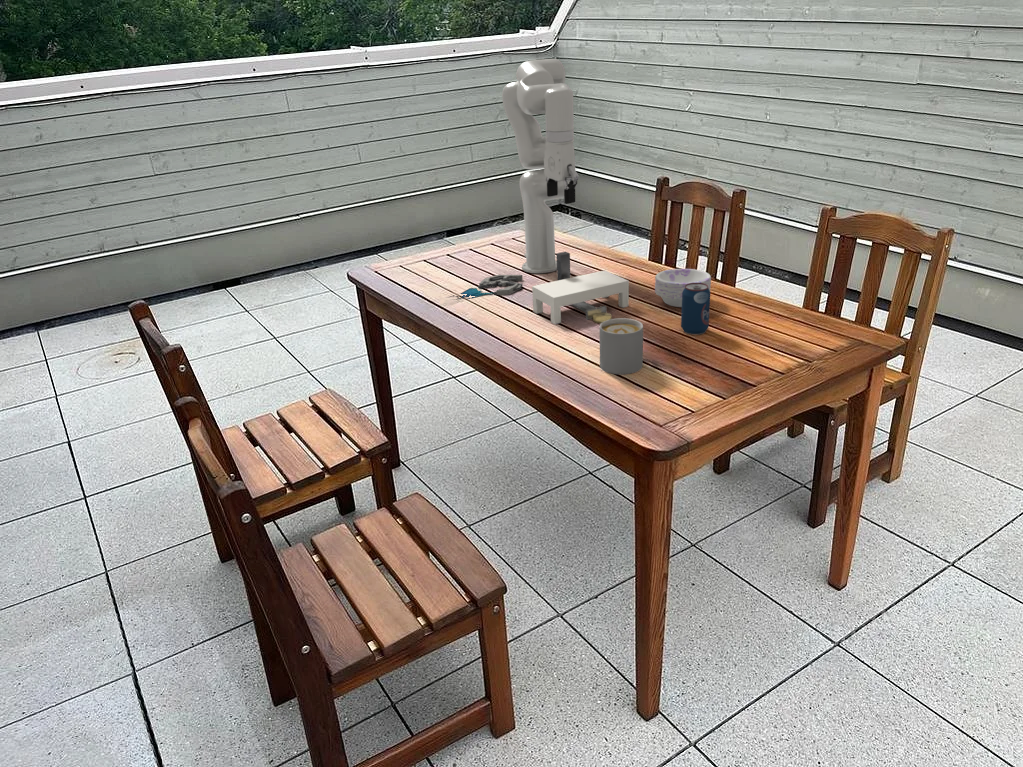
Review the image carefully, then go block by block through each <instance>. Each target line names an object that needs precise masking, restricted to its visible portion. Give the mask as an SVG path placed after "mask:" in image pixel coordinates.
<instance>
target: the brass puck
mask: <svg viewBox="0 0 1023 767" xmlns="http://www.w3.org/2000/svg"><path fill="white" fill-rule="evenodd" d="M612 316H613V315H612V314H611V313H609V312H607V313H605V312H600V313H596V314H594V315H593V319H592V322H593V323H596V324H599V325H600V324H601V323H602V322H604V321H607V320H610V319H613V318H612Z"/></svg>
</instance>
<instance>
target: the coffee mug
mask: <svg viewBox="0 0 1023 767" xmlns="http://www.w3.org/2000/svg"><path fill="white" fill-rule="evenodd" d="M643 352H644V325H643V323H642V322H641V321H639V320H636V319H633V318H625V317H621V318H620V317H619V318H612V319H610V320H607V321H604V322H602V323H601V324H599V368H600V370H602V371H604V372H605V373H608V374H612V375H630V374H633V373H637V372H639V371H640V370H642V368H643V359H644V356H643V355H644V354H643Z"/></svg>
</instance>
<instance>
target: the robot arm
mask: <svg viewBox="0 0 1023 767" xmlns="http://www.w3.org/2000/svg"><path fill="white" fill-rule="evenodd" d="M515 75H516V80H517V81H513V82H509V83H508V84H506V85H505V86H504V87H503V89H502V93H501V94H502V96H501V98H502V106H503V109H504V112H505V115H506V118H507V119H508V121H509V123H510V125H511V127H512V130H513V132H514V133H513V134H514V137H515V143H516V149H517V155H518V160H519V161H520V165H521V167H522V168H523V169H525V170H528V171H526V172H525V173H522V175H521V176H520V178H519V190H520V196H521V200H522V201H521V202H522V206H523V221H524V223H523V224H524V239H525V240H524V242H525V253H524V254H523V256H524V257H525V259H526V260H525V262H524V263H522V265H521V269H522V271H524V272H526V273H530V274H531V273H532V274H546V273H547V274H548V273H552V272H555V271H556V272H557V260H556V245H555V244H556V243H555V242H556V241H555V240H556V239H555V238H556V237H555V215H554V212H553V210H552V209H551V207H550V206H548V205H547V204H546V202H547V201H551V200H552V201H553V200H563V202H564V204H565V205H568V204H574V203H576V189H577V185H578V180H579V173H578V172H577V171H576V155H575V147H574V142H575V140H574V138H575V136H574V135H575V133H574V131H575V129H574V127H575V125H574V122H575V121H574V91H573V89H572V88H570V86H569V85H568V84H567V83H566V69H565V66H564V64H563V63H562V61H561V60H559V59H558V58H544V59H542V58H541V59H531V60H530V59H529V60H526V61H523V62H522V63H521V64H520V65H519V66H518V68H517V70H516V74H515ZM534 115H535V116H536V115H544V116H545V136H543V134H542V128H541V125H540V122H539V121H538V120H537V119H536V118H535V117H534Z"/></svg>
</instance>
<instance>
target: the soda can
mask: <svg viewBox="0 0 1023 767" xmlns="http://www.w3.org/2000/svg"><path fill="white" fill-rule="evenodd" d="M710 307H711V290H710V291H709V289H708V285H707V284H704V283H689V284H686V285H685V288H684V290H683V292H682V307H681V316H680V317H681V318H680V327H681V329H682V332H684V333H685V334H688V335H694V336H697V335H698V336H699V335H703V334H705V333H706V332H707V331H708V329H709V325H710V309H711V308H710Z"/></svg>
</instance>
